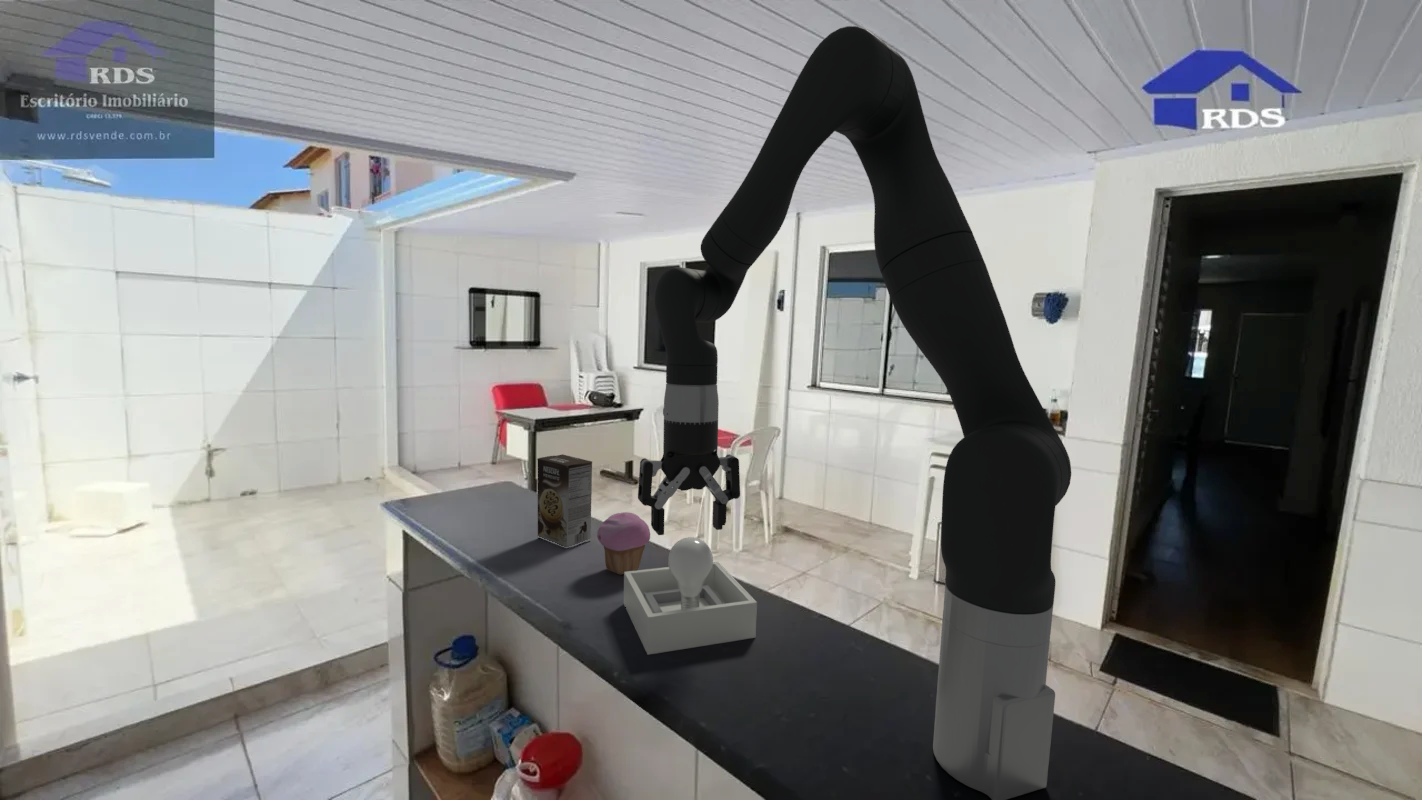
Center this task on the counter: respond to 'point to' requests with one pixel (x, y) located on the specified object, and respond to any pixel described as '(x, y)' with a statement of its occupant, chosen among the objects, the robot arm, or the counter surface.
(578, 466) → the coffee box
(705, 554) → the lightbulb
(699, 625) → the walled box
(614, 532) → the cupcake
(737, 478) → the robot arm
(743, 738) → the counter surface
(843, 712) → the counter surface
